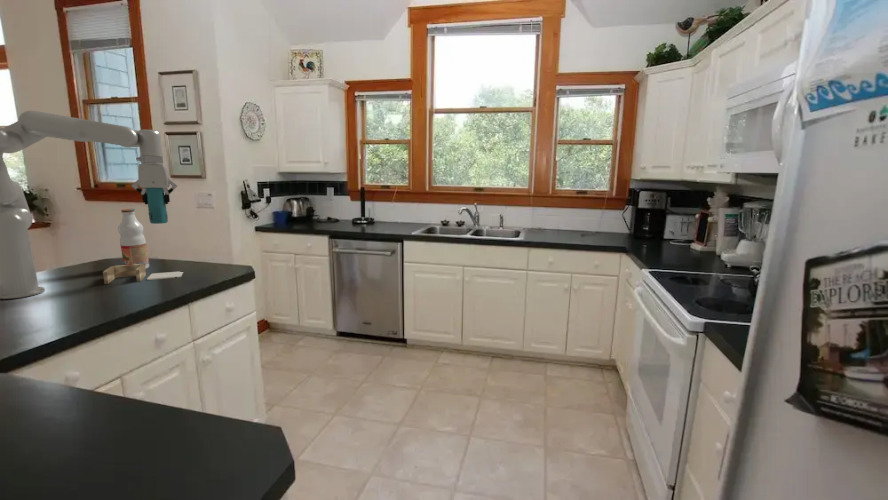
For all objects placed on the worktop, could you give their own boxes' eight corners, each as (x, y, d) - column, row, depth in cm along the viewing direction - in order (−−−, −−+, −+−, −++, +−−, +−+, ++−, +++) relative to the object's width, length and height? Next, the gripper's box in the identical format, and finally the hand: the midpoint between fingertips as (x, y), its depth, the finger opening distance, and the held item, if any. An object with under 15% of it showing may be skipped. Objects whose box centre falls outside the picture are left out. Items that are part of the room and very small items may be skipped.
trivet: (147, 280, 169) (146, 278, 169) (151, 274, 178) (151, 273, 178) (180, 277, 174) (180, 276, 174) (183, 272, 183) (183, 271, 183)
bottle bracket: (104, 284, 162) (102, 272, 161) (112, 277, 173) (111, 266, 172) (140, 281, 167) (139, 269, 166) (146, 274, 178) (145, 263, 177)
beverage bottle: (172, 225, 175) (167, 178, 171) (160, 227, 168) (154, 179, 164) (158, 224, 175) (152, 178, 171) (145, 226, 169) (139, 178, 165)
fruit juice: (145, 271, 185) (136, 210, 179) (121, 272, 182) (110, 210, 176) (152, 265, 193) (144, 207, 187) (129, 267, 190) (119, 208, 184)
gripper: (123, 159, 160) (129, 205, 163) (175, 161, 167) (179, 204, 171) (128, 160, 166) (133, 203, 170) (178, 161, 174) (182, 203, 177)
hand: (156, 203), depth 170 cm, fingers closed on beverage bottle, 6 cm apart
